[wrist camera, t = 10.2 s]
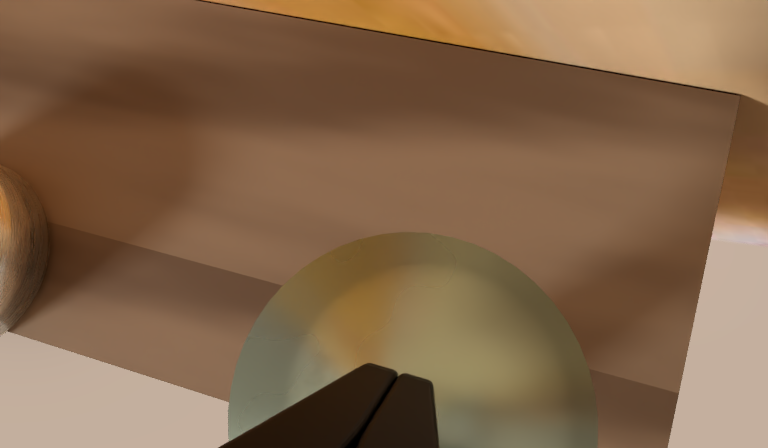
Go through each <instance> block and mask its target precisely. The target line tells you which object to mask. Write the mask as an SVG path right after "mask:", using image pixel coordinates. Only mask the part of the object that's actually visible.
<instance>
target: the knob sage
mask: <svg viewBox="0 0 768 448" xmlns="http://www.w3.org/2000/svg"><path fill="white" fill-rule="evenodd" d="M366 363H373V364H376V365H380V366H383V367H387V368H390V369H394V370H396V371H397V373H398V375H400V374H402V373H408V374H411V375H414V376H418V377H421V378H425V379H428V380H430V381H431V382H432V383H433V386H434V395H435V406H436V416H437V426H438V437H439V447H440V448H597V447H598V415H597V406H596V398H595V391H594V387H593V383H592V379H591V375H590V371H589V367H588V365H587V362H586V360H585V357H584V355H583V352H582V349H581V347H580V344H579V342H578V340H577V339H576V337H575V335H574V333H573V331H572V329H571V328H570V326H569V324H568V322H567V321H566V319H565V318H564V316H563V315H562V314H561V312H560V311H559V309H558V308H557V307H556V305H555V304H554V303H553V301H552V300H551V299H550V298H549V297H548V296H547V295H546V294H545V293H544V291H543V290H542V289H541V288H540V287H539V286H538V285H537V284H536V283H535V282H534V281H533V280H531V279H530V278H529V277H528V276H527V275H525V274H524V273H523V272H522V271H521V270H519V269H518V268H517V267H516V266H514V265H512V264H511V263H509V262H508V261H506V260H504V259H503V258H501V257H500V256H498V255H496V254H495V253H492V252H490V251H488V250H486V249H484V248H482V247H479V246H477V245H475V244H473V243H469V242H466V241H463V240H460V239H456V238H453V237H449V236H443V235H437V234H432V233H419V232H399V233H388V234H380V235H376V236H371V237H367V238H362V239H359V240H356V241H353V242H350V243H348V244H345V245H342V246H339V247H337V248H335V249H333V250H331V251H330V252H328V253H326V254H324V255H322V256H320V257H318V258H317V259H315V260H314V261H312V262H311V263H309V264H308V265H307V266H305V267H304V268H302V269H301V270H299V271H298V272H297V273H296V274H295V275H294V276H293V277H292V278H290V279H289V280H288V281H287V282H286V283H285V284H284V285H283V286H282V287H281V288H280V289H279V290H278V292H277V293H276V294H275V295H274V296H273V297H272V298H271V300H270V301H269V302H268V303H267V305H266V306H265V308H264V309H263V311H262V312H261V314H260V315H259V316H258V318H257V319H256V321H255V323H254V325H253V327H252V329H251V330H250V332H249V334H248V336H247V338H246V340H245V342H244V345H243V348H242V350H241V353H240V356H239V359H238V361H237V364H236V368H235V372H234V377H233V381H232V385H231V391H230V400H229V409H228V436H229V441H231V440H232V439H234V438H236V437H238V436H239V435H241V434H243V433H245V432H246V431H248V430H250V429H252V428H253V427H255V426H257V425H259V424H260V423H262V422H264V421H266V420H267V419H269V418H271V417H272V416H274V415H276V414H278V413H279V412H281V411H283V410H285V409H286V408H288V407H290V406H292V405H293V404H295V403H297V402H299V401H300V400H302V399H304V398H306V397H307V396H309V395H311V394H313V393H314V392H316V391H318V390H319V389H321V388H323V387H325V386H326V385H328V384H330V383H332V382H333V381H335V380H337V379H339V378H340V377H342V376H344V375H346V374H347V373H349V372H351V371H353V370H354V369H356V368H358V367H360V366H361V365H363V364H366Z"/></svg>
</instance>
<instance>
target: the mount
mask: <svg viewBox="0 0 768 448" xmlns="http://www.w3.org/2000/svg"><path fill="white" fill-rule="evenodd" d="M740 97H741V96H738V95H733V94H727V93H721V92H715V91H710V90H704V89H698V88H693V87H687V86H681V85H676V84H670V83H664V82H658V81H653V80H647V79H641V78H636V77H630V76H624V75H618V74H613V73H607V72H601V71H596V70H590V69H584V68H578V67H573V66H567V65H561V64H556V63H550V62H544V61H539V60H533V59H527V58H521V57H516V56H510V55H504V54H499V53H493V52H487V51H481V50H476V49H470V48H464V47H459V46H453V45H447V44H441V43H436V42H430V41H424V40H419V39H413V38H407V37H402V36H396V35H390V34H384V33H379V32H373V31H367V30H362V29H356V28H350V27H344V26H339V25H333V24H327V23H322V22H316V21H310V20H305V19H299V18H293V17H287V16H282V15H276V14H270V13H265V12H259V11H253V10H247V9H242V8H236V7H230V6H225V5H219V4H213V3H207V2H202V1H196V0H0V165H2V166H4V167H7V168H9V169H10V170H12V171H14V172H16V173H17V174H18V175H20V176H21V177H22V178H24V179H25V180H26V181H27V182H28V183H29V184H30V185H31V187H32V188H33V189H34V191H35V192H36V194H37V195H38V197H39V199H40V201H41V203H42V205H43V208H44V211H45V214H46V217H47V222H48V227H49V238H50V244H49V256H48V262H47V267H46V271H45V274H44V278H43V281H42V283H41V285H40V288H39V290H38V292H37V294H36V296H35V298H34V300H33V301H32V303H31V305H30V306H29V307H28V309H27V310H26V312H25V313H24V314H23V316H22V317H21V318H20V319H19V320H18V321H17V322H16V324H14V325H13V326H12V327H11V328H10V329H9V330H8V332H12V333H15V334H18V335H21V336H24V337H27V338H30V339H33V340H37V341H40V342H43V343H46V344H49V345H52V346H55V347H58V348H62V349H65V350H68V351H71V352H74V353H77V354H80V355H84V356H87V357H90V358H93V359H96V360H99V361H102V362H106V363H108V364H112V365H115V366H118V367H121V368H124V369H127V370H130V371H133V372H137V373H140V374H143V375H146V376H149V377H152V378H155V379H158V380H161V381H165V382H168V383H171V384H174V385H177V386H180V387H184V388H186V389H190V390H193V391H196V392H199V393H202V394H205V395H208V396H212V397H215V398H218V399H221V400H224V401H227V402H229V400H230V391H231V385H232V381H233V377H234V372H235V368H236V364H237V361H238V359H239V356H240V353H241V350H242V348H243V345H244V342H245V340H246V338H247V336H248V334H249V332H250V330H251V329H252V327H253V325H254V323H255V321H256V319H257V318H258V316H259V315H260V314H261V312H262V311H263V309H264V308H265V306H266V305H267V303H268V302H269V301H270V300H271V298H272V297H273V296H274V295H275V294H276V293H277V292H278V290H279V289H280V288H281V287H282V286H283V285H284V284H285V283H286V282H287V281H288V280H289V279H290V278H292V277H293V276H294V275H295V274H296V273H297V272H298V271H299V270H301V269H302V268H304V267H305V266H307V265H308V264H309V263H311V262H312V261H314V260H315V259H317V258H318V257H320V256H322V255H324V254H326V253H328V252H330V251H331V250H333V249H335V248H337V247H339V246H342V245H345V244H348V243H350V242H353V241H356V240H359V239H362V238H367V237H371V236H376V235H380V234H388V233H399V232H419V233H432V234H437V235H443V236H449V237H453V238H456V239H460V240H463V241H466V242H469V243H473V244H475V245H477V246H479V247H482V248H484V249H486V250H488V251H490V252H492V253H495V254H496V255H498V256H500V257H501V258H503V259H504V260H506V261H508V262H509V263H511V264H512V265H514V266H516V267H517V268H518V269H519V270H521V271H522V272H523V273H524V274H525V275H527V276H528V277H529V278H530V279H531V280H533V281H534V282H535V283H536V284H537V285H538V286H539V287H540V288H541V289H542V290H543V291H544V293H545V294H546V295H547V296H548V297H549V298H550V299H551V300H552V301H553V303H554V304H555V305H556V307H557V308H558V309H559V311H560V312H561V314H562V315H563V316H564V318H565V319H566V321H567V322H568V324H569V326H570V328H571V329H572V331H573V333H574V335H575V337H576V339H577V340H578V342H579V344H580V347H581V349H582V352H583V355H584V357H585V360H586V362H587V365H588V367H589V371H590V375H591V379H592V383H593V387H594V391H595V398H596V406H597V415H598V447H597V448H667V447H668V443H669V437H670V433H671V428H672V423H673V419H674V414H675V409H676V404H677V399H678V395H679V390H680V385H681V380H682V375H683V371H684V365H685V361H686V356H687V351H688V346H689V341H690V337H691V332H692V327H693V322H694V317H695V313H696V308H697V303H698V298H699V293H700V289H701V284H702V279H703V274H704V269H705V264H706V260H707V255H708V250H709V246H710V241H711V236H712V231H713V226H714V222H715V217H716V212H717V207H718V202H719V198H720V193H721V188H722V183H723V178H724V174H725V169H726V164H727V159H728V154H729V150H730V145H731V140H732V135H733V130H734V126H735V121H736V116H737V111H738V106H739V102H740Z"/></svg>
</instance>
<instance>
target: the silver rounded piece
mask: <svg viewBox="0 0 768 448" xmlns="http://www.w3.org/2000/svg"><path fill="white" fill-rule="evenodd" d="M49 244H50V238H49V227H48V222H47V217H46V214H45V211H44V208H43V205H42V203H41V201H40V199H39V197H38V195H37V194H36V192H35V191H34V189H33V188H32V187H31V185H30V184H29V183H28V182H27V181H26V180H25V179H24V178H22V177H21V176H20V175H18V174H17V173H16V172H14V171H12V170H10V169H9V168H7V167H4V166H2V165H0V336H1V335H3V334H4V333H6V331H8V330H9V329H10V328H11V327H12V326H13V325H14V324H16V322H17V321H18V320H19V319H20V318H21V317H22V316H23V314H24V313H25V312H26V310H27V309H28V307H29V306H30V305H31V303H32V301H33V300H34V298H35V296H36V294H37V292H38V290H39V288H40V285H41V283H42V281H43V278H44V274H45V271H46V267H47V262H48V256H49Z"/></svg>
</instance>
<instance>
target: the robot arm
mask: <svg viewBox="0 0 768 448" xmlns="http://www.w3.org/2000/svg"><path fill="white" fill-rule="evenodd" d="M219 448H440V447H439V437H438V426H437V416H436V406H435V395H434V386H433V383H432V382H431V381H430V380H428V379H425V378H421V377H418V376H414V375H411V374H408V373H402V374H400V375H398V373H397V371H396V370H394V369H390V368H387V367H383V366H380V365H376V364H373V363H366V364H363V365H361V366H360V367H358V368H356V369H354V370H353V371H351V372H349V373H347V374H346V375H344V376H342V377H340V378H339V379H337V380H335V381H333V382H332V383H330V384H328V385H326V386H325V387H323V388H321V389H319V390H318V391H316V392H314V393H313V394H311V395H309V396H307V397H306V398H304V399H302V400H300V401H299V402H297V403H295V404H293V405H292V406H290V407H288V408H286V409H285V410H283V411H281V412H279V413H278V414H276V415H274V416H272V417H271V418H269V419H267V420H266V421H264V422H262V423H260V424H259V425H257V426H255V427H253V428H252V429H250V430H248V431H246V432H245V433H243V434H241V435H239V436H238V437H236V438H234V439H232V440H231V441H229V442H227V443H226V444H224V445H222V446H220V447H219Z"/></svg>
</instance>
